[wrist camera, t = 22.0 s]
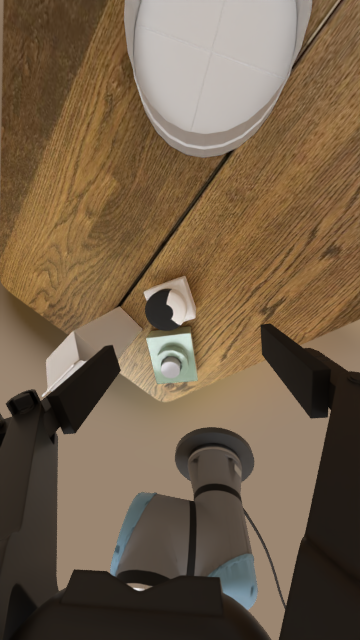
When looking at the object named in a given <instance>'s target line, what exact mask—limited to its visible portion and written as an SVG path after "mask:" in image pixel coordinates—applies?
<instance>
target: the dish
mask: <svg viewBox="0 0 360 640" xmlns="http://www.w3.org/2000/svg"><path fill="white" fill-rule="evenodd" d="M311 8H312V0H125V10H124V24H125V32H126V41H127V49H128V54H129V58H130V61H131V64H132V67H133V72H134V78H135V81H136V84H137V88H138V91H139V94H140V97H141V100H142V103H143V106H144V109H145V112H146V114H147V116H148V118H149V120H150V121H151V123H152V125H153V126H154V128H155V130H156V132H157V133H158V134H159V135H160V136H161V137H162V138H163V139H164V140H165V141H166V142H167V143H168V144H169V145H170V146H171V147H173V148H175V149H177V150H179V151H181V152H182V153H184V154H186V155H191V156H197V157H203V158H204V157H211V156H218V155H223V154H225V153H227V152H229V151H231V150H233V149H235V148H238V147H239V146H241V145H242V144H243V143H244V142H245V141H247V140H248V139H249V138H250V137H251V136H253V135H254V134H255V133H256V132H257V131H258V129H259V128H260V127H261V125H262V124H263V123H264V121H265V120H266V119H267V117H268V116H269V115H270V114H271V112H272V110H273V107H274V105H275V103H276V101H277V99H278V97H279V95H280V93H281V91H282V89H283V87H284V85H285V83H286V81H287V79H288V77H289V75H290V72H291V69H292V65H293V63H294V61H295V59H296V57H297V55H298V53H299V51H300V49H301V46H302V43H303V39H304V35H305V32H306V28H307V25H308V21H309V18H310V14H311Z"/></svg>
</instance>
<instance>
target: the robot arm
mask: <svg viewBox="0 0 360 640" xmlns="http://www.w3.org/2000/svg"><path fill="white" fill-rule="evenodd" d="M261 342H262V355H263V356H264V358H265V359H266V360H267V362H268V363H269V364H270V366H271V367H272V368H273V369H274V371H275V372H276V373H277V375H278V376H279V377H280V379H281V380H282V381H283V383H284V384H285V385H286V386H287V388H288V389H289V390H290V392H291V393H292V394H293V396H294V397H295V398H296V400H297V401H298V402H299V403H300V405H301V406H302V407H303V409H304V410H305V411H306V413H307V414H308V415H309V416H310V418H325V417H328V407H329V408H330V410H331V413H330V418H329V423H328V428H327V432H326V437H325V442H324V447H323V452H322V456H321V461H320V466H319V470H318V475H317V480H316V485H315V489H314V494H313V499H312V504H311V508H310V513H309V518H308V522H307V527H306V532H305V535H304V537H303V538H302V540H301V543H300V548H299V551H298V555H297V560H296V564H295V569H294V573H293V578H292V583H291V587H290V591H289V596H288V601H287V605H285V603H284V600H283V597H282V594H281V591H280V587H279V584H278V580H277V576H276V573H275V570H274V566H273V563H272V561H271V558H270V555H269V553H268V550H267V548H266V546H265V543H264V541H263V539H262V538H261V536H260V534H259V532H258V530H257V528H256V527H255V525H254V523H253V522H252V520H251V519H250V517H249V516H248V514H247V512H246V511H245V510H244V508H243V506H242V501H241V496H240V491H241V477H242V466H241V462H240V458H239V456H238V454H237V453H236V452H235V451H234V450H233V449H231V448H230V447H228V446H225V445H222V444H217V443H207V444H203V445H200V446H198V447H196V448H194V449H193V450H192V451H191V452H190V454H189V457H188V471H189V476H190V480H191V484H192V488H193V492H194V501H189V500H184V499H180V498H175V497H170V496H165V495H160V494H157V493H144V492H141V493H139V494H138V495H137V496H136V497H135V498H134V499H133V501H132V503H131V505H130V507H129V509H128V512H127V514H126V517H125V519H124V522H123V525H122V528H121V531H120V534H119V537H118V540H117V546H116V548H115V551H114V554H113V558H112V562H111V569H110V572H111V574H110V573H108V572H107V571H92V570H74V571H73V573H72V575H71V578H70V580H69V583H68V585H67V587H66V588H64V589H63V590H61V591H59V590H58V586H57V577H56V558H57V557H56V556H57V554H56V553H57V550H56V549H57V467H58V436H57V434H56V431H57V429H58V428H59V427H61V429H62V431H63V433H64V434H73V433H76V432H77V430H78V429H79V427H80V426H81V425H82V423H83V422H84V421H85V419H86V418H87V416H88V415H89V414H90V412H91V411H92V410H93V408H94V407H95V405H96V404H97V403H98V401H99V400H100V398H101V397H102V396H103V394H104V393H105V392H106V390H107V389H108V387H109V386H110V385H111V383H112V382H113V381H114V379H115V378H116V376H117V375H118V374H119V372H120V371H121V370H120V366H119V363H118V360H117V357H116V354H115V350H114V347H113V345H107V346H104V347H103V348H102V349H101V350H100V351H98V352H97V353H96V354H95V355H94V356H93V357H92V358H90V359H89V360H88V361H87V362H86V363H85V364H83V365H82V366H81V367H80V368H79V369H78V370H77V371H75V372H74V373H73V374H72V375H71V376H70V377H68V378H67V379H66V380H65V381H64V382H63V383H61V384H60V385H59V386H58V387H57V388H56V389H55V390H53V391H52V392H51V393H50V394H49V395H48V396H46V398H44V399H43V400H42V401H40V399H39V397H38V395H37V393H36V391H35V390H28V391H25V392H22V393H20V394H18V395H16V396H14V397H13V398H11V399H10V400H9V401H8V402H7V403H6V405H7V407H8V409H9V411H10V412H11V414H12V417H10V418H6V419H3V417H2V415H1V414H0V640H271V638H270V637H269V635H268V634H267V632H266V631H265V630H264V629H263V627H262V626H261V625H260V624H259V623H258V621H257V620H256V619H255V618H254V616H252V614H251V613H250V612H248V609H249V608H251V607H252V606H253V604H254V603H255V601H256V598H257V592H258V589H257V581H256V575H255V569H254V557H253V555H252V551H251V546H250V541H249V536H248V531H247V526H246V521H245V516H244V514H245V515H246V517H247V519H248V520H249V522H250V523H251V525H252V527H253V528H254V530H255V531H256V533H257V535H258V537H259V539H260V540H261V543H262V544H263V547H264V549H265V551H266V553H267V556H268V559H269V561H270V564H271V567H272V570H273V574H274V577H275V581H276V584H277V588H278V591H279V594H280V597H281V600H282V603H283V605H284V608H285V614H284V619H283V623H282V628H281V633H280V637H279V640H360V373H359V372H352V371H351V372H348V371H347V370H345V369H344V368H343V367H341V366H340V365H338V364H337V363H335V362H334V361H332V360H330V359H329V358H328V357H325V355H323V354H322V353H320V352H319V351H317V350H314V349H311V348H302V347H301V346H300V345H298V344H297V343H296V342H294V341H293V340H292V339H290V338H289V337H288V336H286V335H285V334H284V333H282V332H281V331H280V330H278V329H277V328H276V327H274V326H273V325H272V324H263V325H261Z"/></svg>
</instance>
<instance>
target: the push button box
mask: <svg viewBox="0 0 360 640" xmlns="http://www.w3.org/2000/svg"><path fill="white" fill-rule="evenodd" d="M146 339H147V344H148V348H149V352H150V356H151V361H152V365H153V369H154V373H155V378H156V382H157V384H165V383H177V382H189V381H198V369H197V362H196V355H195V349H194V342H193V336H192V329H191V326H188V327H180V328H176V329H174V330H171V331H162V330H156V331H151V332H150V333H149V335H148V336H147V338H146ZM169 356H173V357H176V358H177V359H179V361H180V363H181V367H180V373H179V375H178V376H177V377H175V378H167V377H165V376H164V375H163V374H162V372H161V366H162V363H163V360H164V359H165V358H167V357H169Z"/></svg>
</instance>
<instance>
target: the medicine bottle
mask: <svg viewBox="0 0 360 640" xmlns="http://www.w3.org/2000/svg"><path fill="white" fill-rule="evenodd" d="M144 296H145V298H146V301H147V303H146V306H145V314H146V317H147V319H148V321H149V322H150V324H151V325H152V326H154V327H155V328H157V329H159V330H162V331H171V330H174V329H176V328H178V327H179V326H180V325H181V324H182V323H183V322H185V321H188V320H191V319H194V318H196V306H195V303H194V300H193V297H192V294H191V291H190V288H189V285H188V282H187V279H186V276H182V277H179V278H176V279H173V280H171V281H168V282H165V283H162V284H159V285H156V286H154V287H152V288H150V289H148V290H146V291H144Z"/></svg>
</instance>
